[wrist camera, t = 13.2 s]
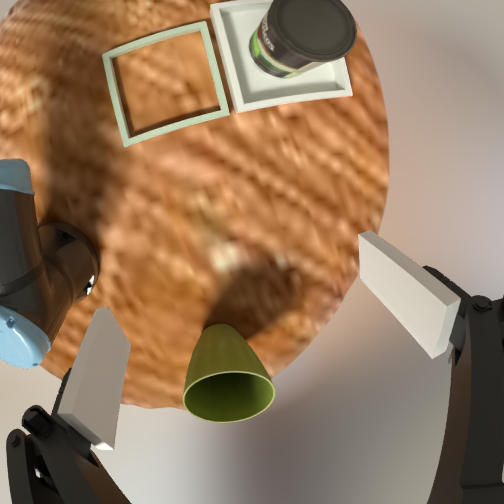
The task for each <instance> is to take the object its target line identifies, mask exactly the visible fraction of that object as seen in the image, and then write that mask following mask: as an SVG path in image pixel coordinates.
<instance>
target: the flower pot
mask: <svg viewBox="0 0 504 504" xmlns="http://www.w3.org/2000/svg"><path fill="white" fill-rule="evenodd" d="M274 398H275V387H274V385H273V383H272V381H271V379H270V377H269V375H268V373H267V371H266V370H265V368H264V366H263V364H262V363H261V361H260V360H259V358H258V357H257V355H256V354H255V352H254V351H253V350H252V348H251V347H250V346H249V344H248V343H247V342H246V341H245V339H244V338H243V337H242V336H241V335H240V334H239V333H238V332H237V331H236V330H235V329H234V328H233V327H232V326H230V325H227V324H214V325H211V326H209V327H207V328H206V329H205V330H204V331H203V332H202V334H201V336H200V338H199V340H198V342H197V344H196V346H195V349H194V351H193V354H192V357H191V360H190V363H189V367H188V371H187V376H186V381H185V387H184V394H183V403H184V406H185V408H186V409H187V410H188V411H189V412H190V413H191V414H192V415H194V416H196V417H198V418H200V419H203V420H206V421H210V422H218V423H224V422H236V421H241V420H245V419H248V418H251V417H253V416H256V415H257V414H259V413H261V412H263V411H264V410H265V409H266V408H267V407H269V405H270V404H271V403H272V401H273V400H274Z"/></svg>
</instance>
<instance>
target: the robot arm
mask: <svg viewBox="0 0 504 504" xmlns="http://www.w3.org/2000/svg"><path fill="white" fill-rule="evenodd" d="M34 195H35V192H34V191H33V188H32V181H31V173H30V168H29V165H28V164H27V162H26V161H24V160H22V159H3V160H0V359H2V360H3V361H5V362H6V363H9V364H10V365H13V366H16V367H19V368H26V369H28V368H34V367H36V366H38V365H39V364H40V363H41V362H42V361H43V359H44V357H45V355H46V353H47V352H48V351H49V350H50V349H51V346H52V343H53V341H54V339H55V337H56V335H57V333H58V331H59V329H60V327H61V325H62V323H63V321H64V319H65V317H66V315H67V313H68V311H69V309H70V308H71V307H72V306H74V305H75V304H77V303H78V302H80V301H81V300H83V299H84V298H86V297H87V296H88V295H89V293H90V292H91V291H92V289H93V287H94V285H95V283H96V281H97V278H98V273H99V264H98V258H97V255H96V252H95V250H94V248H93V246H92V244H91V242H90V241H89V240H88V238H87V237H86V236H85V235H84V234H83V233H82V232H81V231H80V230H79V229H77V228H76V227H74V226H72V225H70V224H68V223H64V222H50V223H47V224H45V225H43V226H42V227H40V228H39V229H38V223H37V217H36V210H35V202H34ZM358 237H359V256H360V280H362V282H363V283H364V284H365V285H366V286H367V287H368V288H369V289H370V290H371V291H372V292H373V293H374V294H375V295H376V296H377V297H378V298H379V300H380V301H381V302H382V303H383V304H384V305H385V306H386V307H387V308H388V309H389V310H390V311H391V313H392V314H393V315H394V316H395V317H396V318H397V319H398V320H399V321H400V322H401V323H402V325H403V326H404V327H405V328H406V329H407V330H408V331H409V332H410V334H411V335H412V336H413V337H414V338H415V339H416V340H417V342H418V343H419V344H420V345H421V346H422V347H423V348H424V350H425V351H426V352H427V353H428V354H429V356H430V357H431V358H432V359H433V358H435V357H436V356H438V355H440V354H441V353H443V352H445V351H446V348H447V345H448V342H449V341H450V342H451V343H452V344H453V345H454V346H453V349H452V352H451V355H450V357H449V360H448V363H450V362H451V359H452V370H451V371H452V372H451V387H450V398H449V407H448V415H447V422H446V429H445V435H444V441H443V446H442V451H441V455H440V460H439V464H438V468H437V472H436V476H435V480H434V483H433V487H432V490H431V493H430V497H429V500H428V502H427V504H504V483H503V482H502V471H503V464H504V296H503V298H502V299H498V300H495V301H491V300H490V299H489V298H487V297H485V296H480V295H477V296H473V297H471V296H470V295H469V294H467V293H466V292H465V291H464V290H462V289H461V288H460V287H459V286H457V285H456V284H455V283H453V282H452V281H450V280H449V279H448V278H447V277H446V276H444V275H443V274H442V273H440V272H439V271H438V270H436V269H434V268H431V267H429V266H423V267H421V266H419V265H418V264H417V263H416V262H414V261H413V260H412V259H410V258H409V257H407V256H406V255H405V254H403V253H402V252H401V251H399V250H398V249H397V248H395V247H394V246H392V245H391V244H390V243H388V242H387V241H385V240H384V239H382V238H381V237H380V236H378V235H377V234H375V233H374V232H372V231H367V232H364V233H361V234H358ZM130 349H131V344H130V342H129V341H128V339H127V337H126V336H125V334H124V332H123V331H122V329H121V328H120V326H119V324H118V322H117V321H116V319H115V317H114V316H113V314H112V312H111V310H110V309H109V307H108V306H106V307H102V308H99V309H96V311H95V313H94V315H93V317H92V320H91V322H90V324H89V327H88V329H87V331H86V334H85V336H84V339H83V341H82V344H81V346H80V349H79V351H78V354H77V356H76V359H75V362H74V364H73V367H72V368H70V369H69V370H68V371H67V373H66V374H65V376H64V377H63V380H62V383H61V387H60V389H59V394H58V395H57V398H56V401H55V404H54V407H53V410H52V413H51V416H50V415H49V414H48V413H47V412H46V411H45V410H44V409H43V408H42V407H41V406H39V405H34V406H32V407H30V408H28V409H27V410H26V411H25V413H24V415H23V418H22V426H23V427H24V428H25V429H27V431H29V432H30V433H31V434H29V435H26V434H25V433H24V432H23V431H22V430H20V429H14V430H13V431H11V432H10V434H9V435H8V438H7V442H6V452H7V467H8V478H9V486H10V493H11V499H12V504H131V503H130V501H129V500H128V499H127V498H126V496H125V495H124V494H123V493H122V491H121V490H120V489H119V487H118V486H117V485H116V484H115V482H114V481H113V479H112V478H111V477H110V475H109V474H108V472H107V471H106V470H105V468H104V467H103V465H102V464H101V462H100V461H99V459H98V458H97V456H96V455H95V453H94V452H93V451H92V450H90V447H91V443H92V444H93V445H94V446H95V447H97V448H98V449H100V450H114V445H115V436H116V428H117V421H118V413H119V407H120V401H121V395H122V389H123V384H124V378H125V373H126V368H127V363H128V358H129V353H130ZM35 470H36V471H38V472H39V473H40V478H39V477H37V476H36V471H35Z"/></svg>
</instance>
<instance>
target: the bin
mask: <svg viewBox="0 0 504 504" xmlns="http://www.w3.org/2000/svg"><path fill="white" fill-rule="evenodd" d="M272 2H273V0H236V1H229V2H222V3H216V4H211V5H210V17H211V21H212V24H213V28H214V32H215V36H216V39H217V43H218V47H219V51H220V55H221V59H222V63H223V66H224V70H225V74H226V78H227V82H228V86H229V90H230V94H231V98H232V102H233V106H234V110H235V114H237V113H242V112H246V111H251V110H256V109H261V108H266V107H272V106H277V105H283V104H290V103H296V102H303V101H311V100H319V99H327V98H337V97H346V96H353V94H352V89H351V84H350V80H349V75H348V71H347V67H346V63H345V59H344V57H342V58H340V59H338V60H335V61H331V62H327V63H325V64H323V65H320V66H318V67H316V68H313V69H311V70H309V71H307V72H304V73H302V74H301V75H299V76H297V77H294V78H290V79H278V78H274V77H271V76H268V75H266V74H264V73H263V72H261V71H260V70H259V69H258V68H257V67H256V66H255V65H254V64H253V62H252V60H251V58H250V56H249V53H248V43H249V39H250V37H251V35H252V34H253V32H254V31H255V30H256V28H257V27H258V25H259V24H260V22H261V21H262V19H263V17H264V16H265V14H266V13H267V11H268V10H269V8H270V6H271V3H272Z"/></svg>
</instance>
